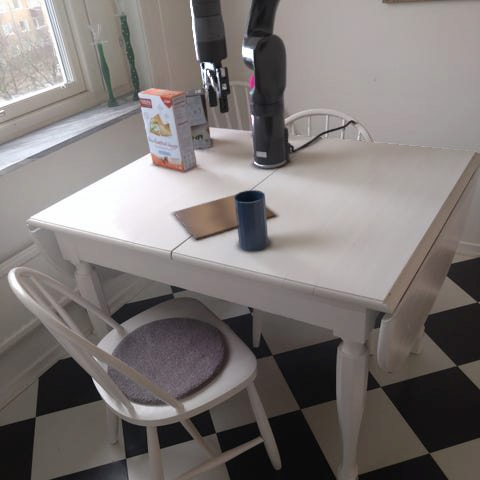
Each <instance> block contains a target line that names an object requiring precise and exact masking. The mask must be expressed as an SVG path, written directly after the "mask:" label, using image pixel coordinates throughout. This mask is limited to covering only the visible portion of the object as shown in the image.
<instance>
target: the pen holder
mask: <svg viewBox="0 0 480 480" xmlns="http://www.w3.org/2000/svg"><path fill="white" fill-rule="evenodd" d="M234 195H235V197H234V200H235V209H236V218H237V228H236V229H237V236H238V244H239V245H238V246H239V248H240V249H241V250H244V251H245V252H257V251H261V250H263V249H265V248H266V247H267V246H268V244H269V236H268V222H267V220H268V218H267V219H266V208H267V207H266V206H267V205H266V194H265V192H263V191H262V190H257V189H249V190H243V191H240V192H238V193H236V194H234Z"/></svg>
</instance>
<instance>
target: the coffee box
mask: <svg viewBox="0 0 480 480" xmlns="http://www.w3.org/2000/svg"><path fill="white" fill-rule="evenodd" d="M205 91H206V90H205V88H204V87H199V88H190V89H185V90H184V92H185V93H186V99H187V106H188V113H189V119H190V125H191V132H192V138H193V145H194V150H196V149H197V150H198V149H204V148H205V149H206V148H211V147H212V141H211V140H212V139H211V130H210V129H211V128H210V122H209V114H208V107H207V97H206V92H205Z"/></svg>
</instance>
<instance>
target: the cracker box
mask: <svg viewBox="0 0 480 480" xmlns="http://www.w3.org/2000/svg"><path fill="white" fill-rule="evenodd" d="M137 96H138V100H139V105H140V110H141V115H142V118H143V124H144V128H145V133H146V138H147V142H148V147H149V151H150V157H151V162H152V164H153V165H157V166H160V167H165V168H168V169H171V170H175V171H179V172H182V173H184V172H187V171H189V170H191V169H192V168H194V167H196V166H198V165H197V159H196V158H197V157H196V152H195V149H194V145H193V138H192V132H191V125H190V119H189V113H188V106H187V99H186V93H185V91H177V90H170V89H162V88H157V87H156V88H155V87H151V88H149V89H146V90H142V91H140V92H138V93H137Z"/></svg>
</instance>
